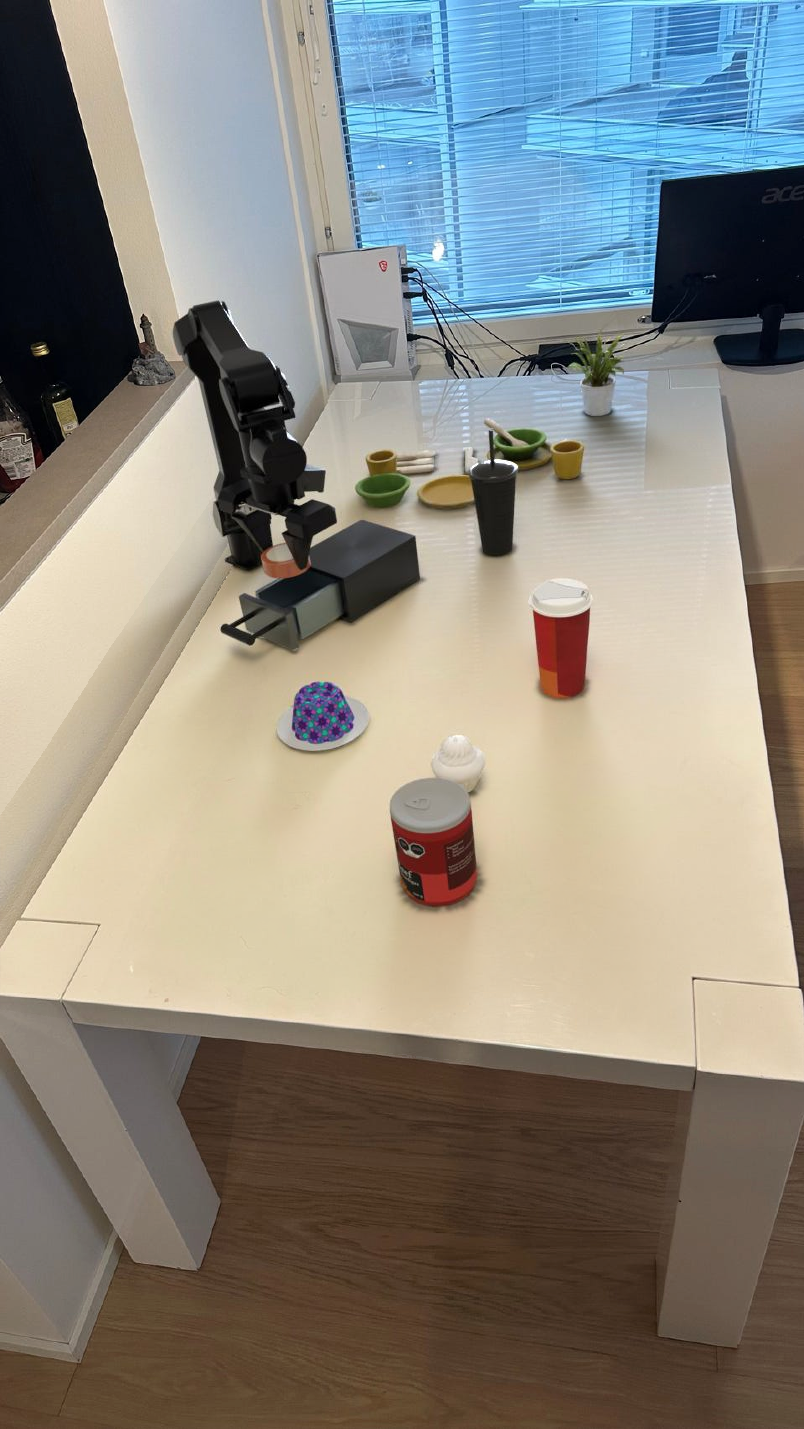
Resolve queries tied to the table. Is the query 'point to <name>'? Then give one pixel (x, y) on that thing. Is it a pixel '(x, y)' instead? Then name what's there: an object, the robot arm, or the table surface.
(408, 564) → the cabinet
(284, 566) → the round tin
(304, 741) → the pudding
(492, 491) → the drinking cup
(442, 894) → the canned food
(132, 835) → the table surface
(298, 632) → the drawer
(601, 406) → the house plant
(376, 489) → the tableware set
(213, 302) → the robot arm
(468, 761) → the muffin
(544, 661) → the paper cup
